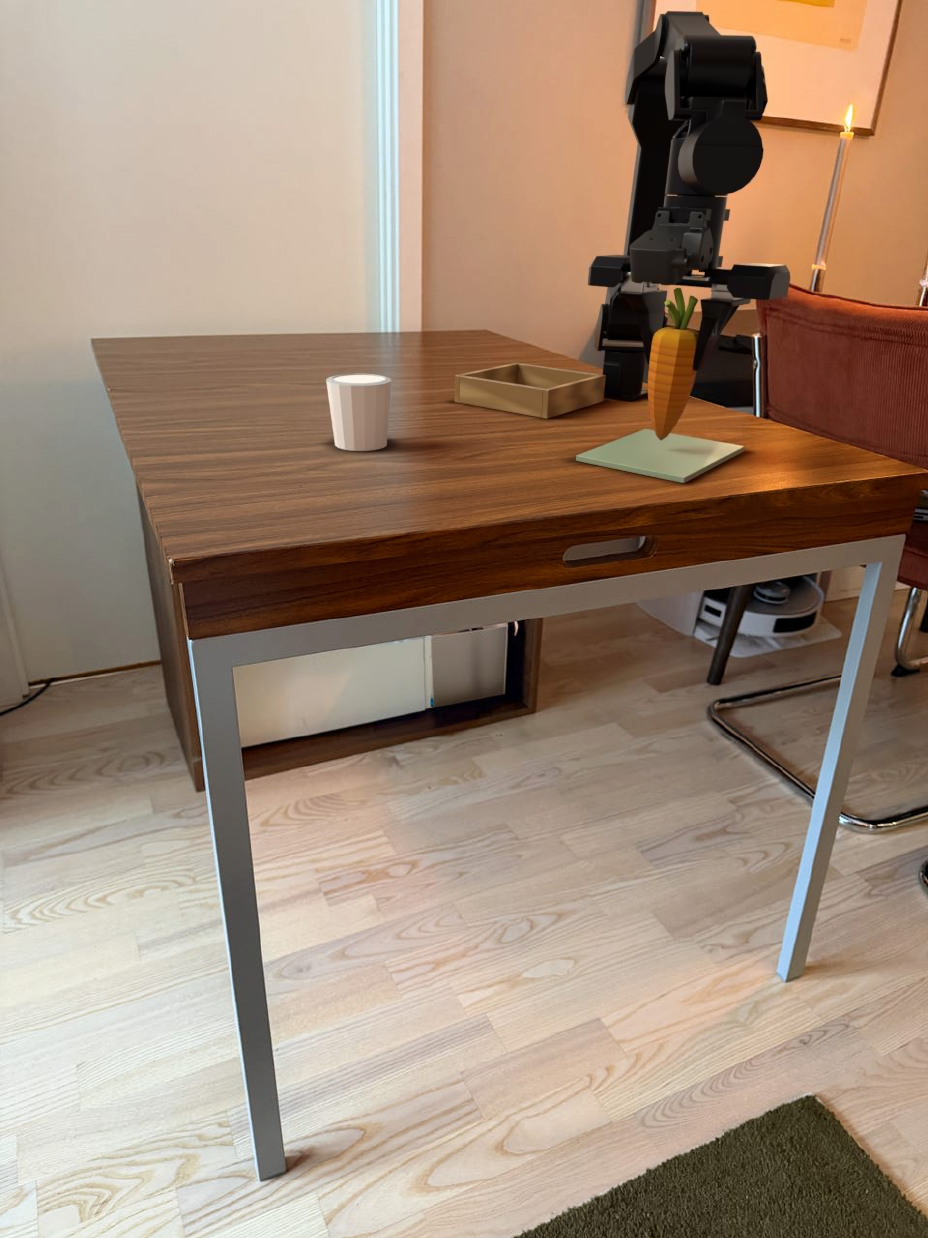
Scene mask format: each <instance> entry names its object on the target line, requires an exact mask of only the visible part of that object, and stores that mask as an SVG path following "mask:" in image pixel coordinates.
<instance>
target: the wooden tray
mask: <svg viewBox="0 0 928 1238" xmlns="http://www.w3.org/2000/svg"><path fill="white" fill-rule="evenodd" d="M605 379H606V375H602V374H599V373H594V372H593V373H592V372H586V371H578V370H571V369H565V368H558V367H549V366H543V365H536V364H530V363H529V364H528V363H523V362H513V363H508V364H503V365H498V366H494V367H489V368H484V369H479V370H474V371H470V372H465V373H459V374H455V375H454V402H455V403H458V404H463V405H469V406H475V407H480V408H487V409H490V410H498V411H503V412H508V413H513V414H519V415H525V416H528V417H529V416H530V417H536V418H540V419H551V418H554V417H557V416H560V415H563V414H568V413H569V412H574V411H577V410H579V409H583V408H586V407H590V406H592V405H596V404H600V403H602V402H604V398H605V396H604V389H605Z"/></svg>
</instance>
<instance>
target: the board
mask: <svg viewBox="0 0 928 1238" xmlns="http://www.w3.org/2000/svg"><path fill="white" fill-rule="evenodd" d="M743 452H745V446H744V445H739V444H734V443H729V442H728V443H727V442H723V441H716V440H711V439H705V438H701V437H696V436H695V437H694V436H689V435H683V434H677V433H672V432H670V433H669V435H668V436H667V437H666V438H664V439H663V440H659V438H658V437H657V436H656V434H655V431H654V429H648V428H643V429H641V430H639V431H636V432H632V433H631V434H627V435H626V436H623V437H621V438H617V439H615V440H613V441H610V442H607V443H605V444H602V445H600V446H597V447H594V448H592V449H590V450H587V451H585V452H582V453H579V454H576V455H575V461H576V462H580V463H585V464H589V465H593V466H598V467H604V468H608V469H613V470H617V471H623V472H628V473H632V474H637V475H642V476H647V477H652V478H655V479H661V480H666V481H670V482H675V483H680V484H686V483H687V482H689V481H691V480H693V479H696V477H697V478H698V477H699V476H700V475H702V474H704V473H706V472H708V471H710V470H712V469H714V468H716V467H717V466H719V465H721V464H723V463H725V462H727V461H728V460H731V459H733V458H734V457H736V456H738V455H740V454H742V453H743Z"/></svg>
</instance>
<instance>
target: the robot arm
mask: <svg viewBox="0 0 928 1238" xmlns="http://www.w3.org/2000/svg"><path fill="white" fill-rule="evenodd" d="M757 49H758V47H757V41H756V39H755V37H754V36H753V35H740V34H739V35H737V34H735V35H734V34H721V33H720V32H719V31H718V30H717V29H716V28H715V27H714V26H713V24H711V22H710V15H709V14H704V12H703V11H689V10H688V11H687V10H686V11H685V10H667V11H665V13H660V14H659V17H658V19H657V23H656V25H655V29H654V30H653V31H652V32H651V33H650V34H649V35H648V36H647V37H645V38H644V39H643V40H642V41H641V42H640V43H639V44H638V45H636V46H635V48H634V49H633V51H632V56H631V60H630V64H629V68H628V70H627V75H626V82H625V91H624V104H625V105H627V106H628V112H627V119H628V122H629V125H630V127H631V130H632V132H633V135H634V138H635V140H636V143H637V146H636V154H635V162H634V170H633V177H632V184H631V193H630V200H629V207H628V208H629V210H628V216H627V224H626V230H625V237H624V238H625V239H624V246H623V254H607V255H606V254H605V255H596V256H595V258H594V259H593V260H592V262H591V264H590V265H589V267H588V277H587V286H589V287H590V286H591V287H602V288H606V295H605V301H604V302H605V303H601V304H600V308H599V310H598V311H599V312H598V315H597V320H596V325H595V329H594V343H593V344H594V345H593V347H594V349H595V350H596V351H597V352H602V351H603V352H604V356H603V365H602V374H601V375H606V379H605V389H604V397H607V398H614V399H621V400H626V401H634V400H637V399H640V398H644V397H647V396H648V389H644V388H643V384H644V377H645V368H646V367H645V366H646V363H647V365H648V366H649V363H650V354H651V346H652V340H653V337H654V334H655V333H656V332H657V331H658V330H660V329H662V328H665V327H667V324H668V321H669V320H668V319H669V318H668V316H667V315H666V306H665V301H667V296H668V290H664V289H663V290H662V289H661V290H660V287H659V286H660V285H661V286H679V287H680V286H681V287H692V288H703V289H704V288H707V289H710V293H711V296H710V297H707V298H700V308H701V320H700V326H699V329H698V333H699V334H698V339H697V344H696V349H695V355H694V365H693V370H694V371H697V372H700V371H701V370H702V368H703V366H704V364H705V363H706V361H707V359H708V357H709V356H710V354H711V352H712V351H713V349H714V346H715V345H716V344H717V341H718V339H719V337H720V336H721V334H722V333H723V331H724V329H725V328H726V326H727V325H728V323H729V322H730V321H731V318H732V317H733V316H734V315H735V313H736V312H737V311H738V309H739V308H740V306H744V305H749V304H751V302H752V300H757V301H770V300H771V301H772V300H775V299H776V300H777V299H781V298H785V297H788V295H789V288H790V283H791V272H790V270H789V268H788V266H787V265H786V264H779V263H778V264H777V263H764V262H763V263H762V262H761V263H760V262H744V263H734V264H732V268H722V267H723V261H724V256H723V255H720V250H721V244H722V237H723V230H724V223H725V222H729V219H730V213H731V208H727V202H728V196H729V195H730V194H734V193H737V192H738V191H740V190H743V189H744V188H745V187H746V186H748V185H749V184H750V183H751V182H752V181H753V179H754V178H755V177H756V175H757V174H758V172H759V170H760V168H761V165H762V162H763V158H764V146H763V139H762V136H761V133H760V131H759V129H758V128H757V127H756V125H755V124H754V123H758V122H760V121H762V119H763V116H764V113H765V112H766V108H767V105H768V102H769V97H768V91H767V83H766V75H765V68H764V66H763V65H762V61H763V60H762V54H761V51H757ZM693 271H698V273H693ZM605 339H606V340H607V341H604V340H605Z"/></svg>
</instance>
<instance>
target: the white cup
mask: <svg viewBox="0 0 928 1238" xmlns="http://www.w3.org/2000/svg"><path fill="white" fill-rule="evenodd" d="M325 381H326V382H325V383H326V388H327V397H328V403H329V410H330V411H329V412H330V418H331V419H330V420H331V425H332V433H333V441H334V446H335V447H336V448H338V449H341V450H344V451H353V452H369V451H377V450H381V449H384V448H385V447H387V446H388V445H387V444H388V430H389V418H390V403H391V388H392V378H390V377H388V376H386V375H380V374H374V373H373V374H372V373H344V374H343V373H342V374H338V375H337V374H336V375H332V376H329V377H327V378H326V380H325Z"/></svg>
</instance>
